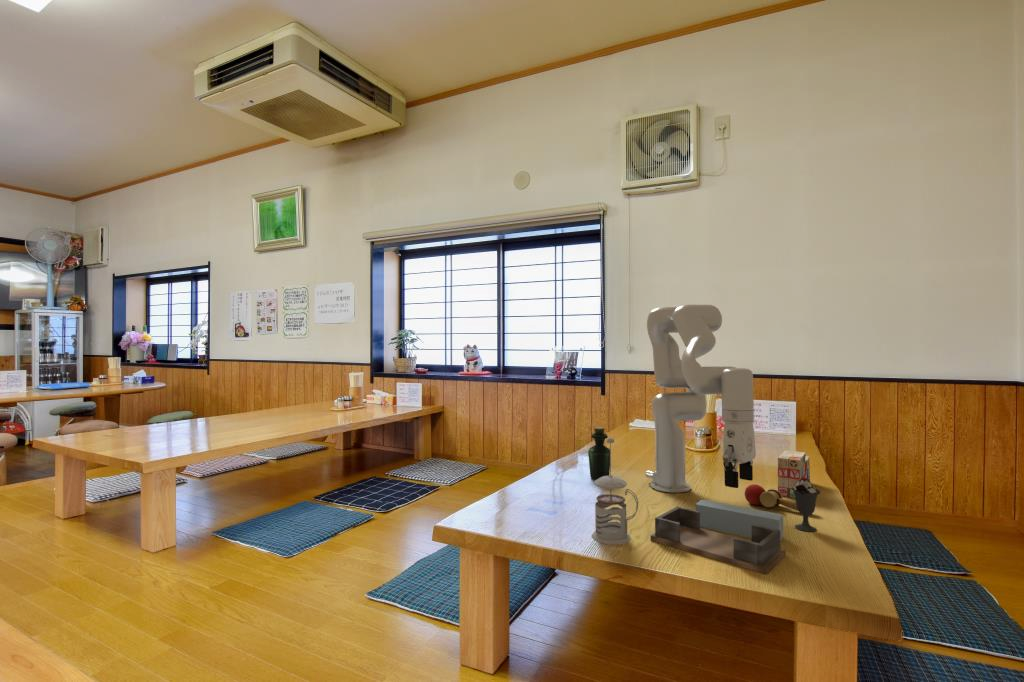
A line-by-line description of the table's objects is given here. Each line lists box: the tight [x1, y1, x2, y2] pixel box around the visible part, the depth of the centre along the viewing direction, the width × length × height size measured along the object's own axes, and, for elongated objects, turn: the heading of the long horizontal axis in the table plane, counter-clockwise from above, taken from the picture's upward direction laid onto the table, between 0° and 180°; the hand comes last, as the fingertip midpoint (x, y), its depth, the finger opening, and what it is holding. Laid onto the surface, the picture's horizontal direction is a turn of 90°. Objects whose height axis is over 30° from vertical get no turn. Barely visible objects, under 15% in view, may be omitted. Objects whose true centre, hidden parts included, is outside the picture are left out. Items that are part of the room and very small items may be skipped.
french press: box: [591, 437, 639, 546], centre depth 129 cm, size 10×12×25 cm
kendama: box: [744, 484, 814, 517], centre depth 150 cm, size 8×6×18 cm
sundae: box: [791, 470, 821, 533], centre depth 134 cm, size 7×7×15 cm
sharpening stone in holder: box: [650, 506, 787, 575], centre depth 122 cm, size 27×13×6 cm, turn 46°
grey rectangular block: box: [695, 499, 784, 543], centre depth 132 cm, size 20×5×6 cm, turn 52°
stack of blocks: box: [777, 449, 811, 499], centre depth 169 cm, size 21×6×12 cm, turn 143°
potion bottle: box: [587, 426, 610, 481], centre depth 184 cm, size 8×8×18 cm
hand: (739, 483), depth 132 cm, fingers open, 9 cm apart
